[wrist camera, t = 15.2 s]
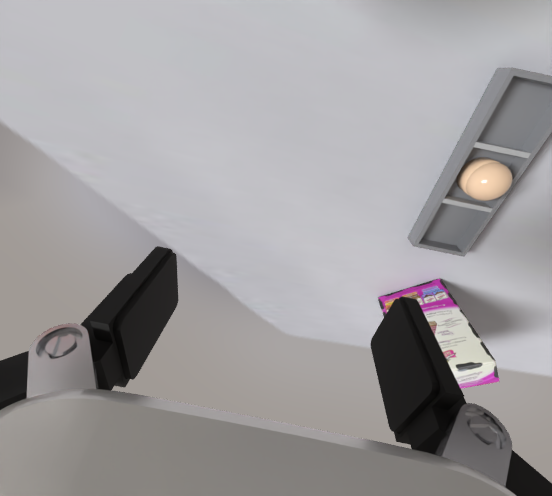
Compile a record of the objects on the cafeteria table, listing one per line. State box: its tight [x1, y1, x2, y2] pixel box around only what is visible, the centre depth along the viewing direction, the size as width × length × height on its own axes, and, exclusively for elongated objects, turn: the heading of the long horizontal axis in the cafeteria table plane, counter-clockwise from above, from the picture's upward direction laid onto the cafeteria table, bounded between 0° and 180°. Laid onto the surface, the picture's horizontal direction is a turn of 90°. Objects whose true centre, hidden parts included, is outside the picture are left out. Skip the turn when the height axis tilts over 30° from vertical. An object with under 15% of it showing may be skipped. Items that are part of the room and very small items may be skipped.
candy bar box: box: [378, 279, 499, 389], centre depth 42 cm, size 11×5×16 cm, turn 119°
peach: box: [457, 157, 512, 201], centre depth 34 cm, size 5×5×5 cm
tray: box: [408, 68, 552, 256], centre depth 35 cm, size 23×8×3 cm, turn 170°
